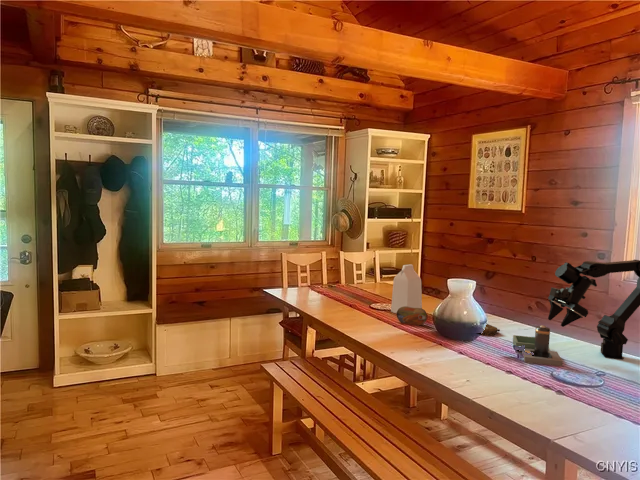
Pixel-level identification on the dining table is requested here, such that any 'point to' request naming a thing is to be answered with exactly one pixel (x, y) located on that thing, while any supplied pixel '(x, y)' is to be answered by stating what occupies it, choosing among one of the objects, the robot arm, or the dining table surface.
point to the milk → (406, 289)
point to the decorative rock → (490, 330)
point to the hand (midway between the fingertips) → (555, 322)
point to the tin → (412, 315)
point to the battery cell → (542, 341)
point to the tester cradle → (552, 360)
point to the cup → (524, 341)
